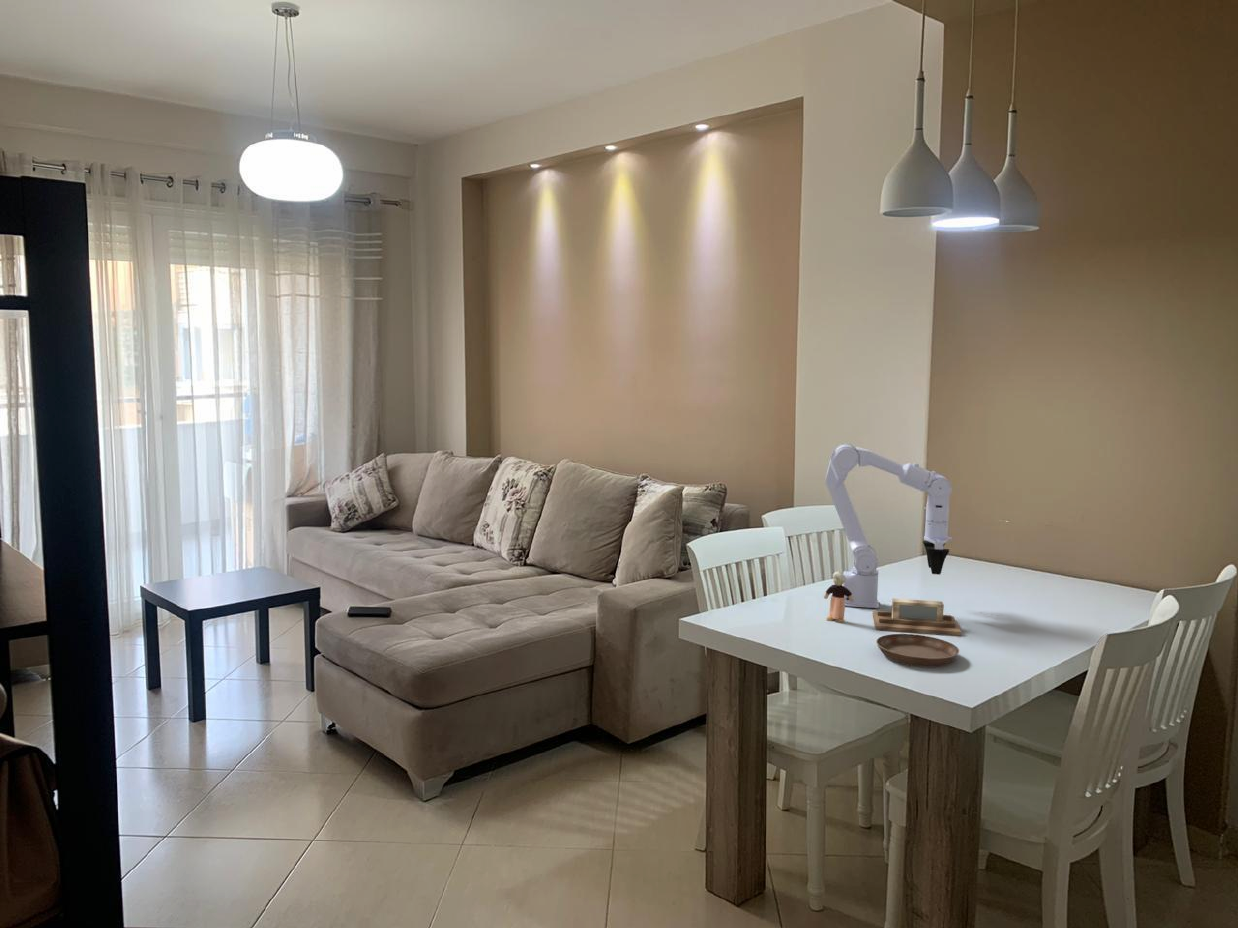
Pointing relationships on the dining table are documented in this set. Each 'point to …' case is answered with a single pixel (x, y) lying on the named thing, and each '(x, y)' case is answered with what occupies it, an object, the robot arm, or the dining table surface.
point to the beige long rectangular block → (917, 610)
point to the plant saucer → (917, 650)
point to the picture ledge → (915, 624)
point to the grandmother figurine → (838, 598)
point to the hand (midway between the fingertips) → (934, 570)
